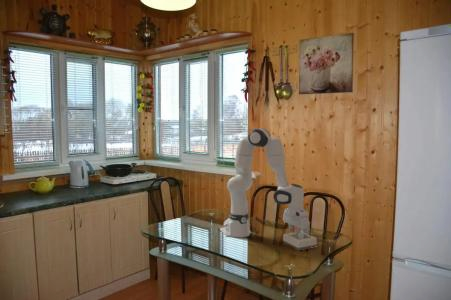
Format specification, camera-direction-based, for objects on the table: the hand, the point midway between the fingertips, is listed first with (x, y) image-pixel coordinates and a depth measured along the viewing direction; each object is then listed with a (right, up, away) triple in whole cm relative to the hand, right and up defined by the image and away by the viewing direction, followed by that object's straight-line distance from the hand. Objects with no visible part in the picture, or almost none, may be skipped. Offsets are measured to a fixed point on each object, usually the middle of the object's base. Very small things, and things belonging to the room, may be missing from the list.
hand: (294, 232), depth 211 cm
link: (+2, -5, -4) cm, 7 cm away
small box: (+7, -6, +12) cm, 15 cm away
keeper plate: (+3, -7, -5) cm, 9 cm away
